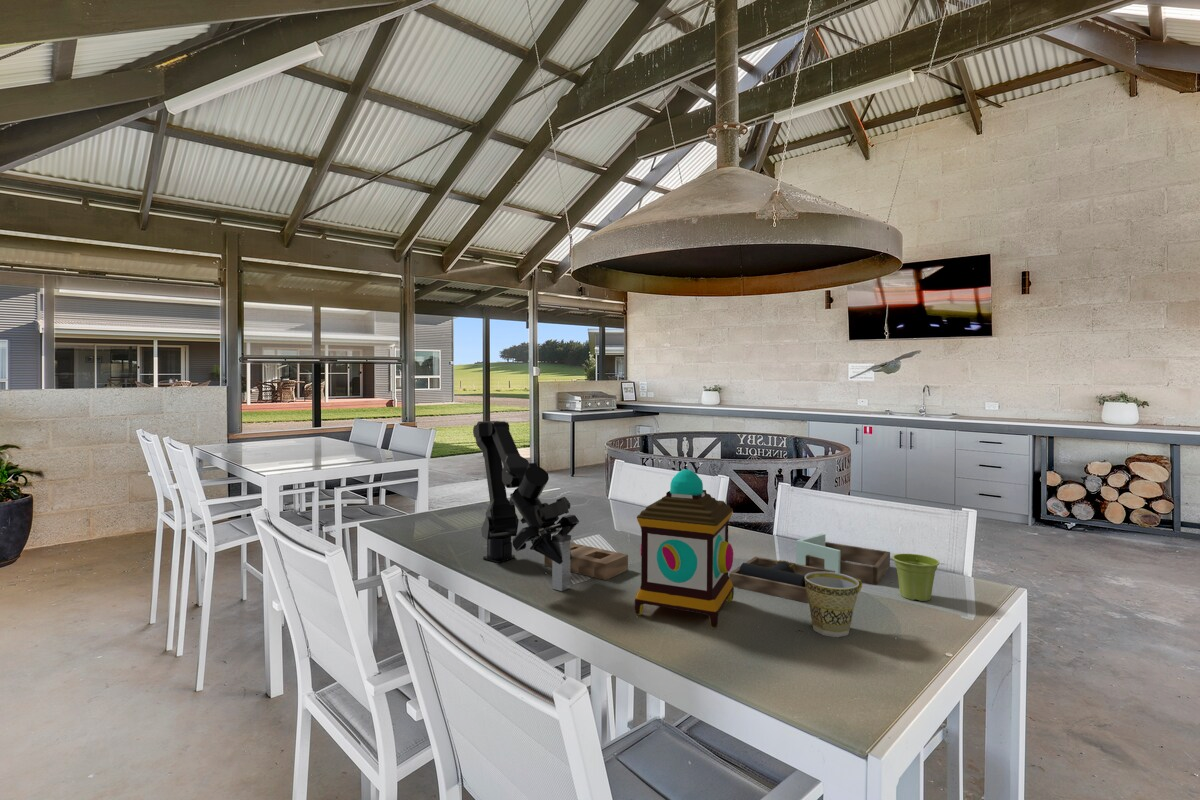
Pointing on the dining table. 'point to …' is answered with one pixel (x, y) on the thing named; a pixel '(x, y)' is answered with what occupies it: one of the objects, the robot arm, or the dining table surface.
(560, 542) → the block
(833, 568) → the l-shaped corner panel
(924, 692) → the dining table surface
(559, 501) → the robot arm
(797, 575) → the pipe connector
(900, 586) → the plant pot
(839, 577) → the ceramic cup
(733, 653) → the dining table surface
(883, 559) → the brown shallow square box
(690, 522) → the decorative lantern
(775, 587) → the wooden tray
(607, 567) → the bit block
